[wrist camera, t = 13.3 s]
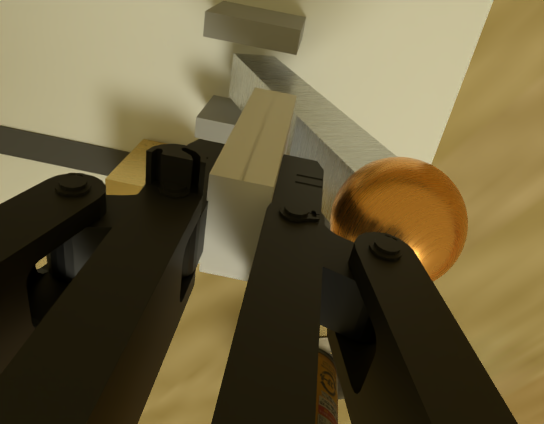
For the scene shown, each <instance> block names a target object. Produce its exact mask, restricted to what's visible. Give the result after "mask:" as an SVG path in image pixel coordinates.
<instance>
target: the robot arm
mask: <svg viewBox="0 0 544 424" xmlns="http://www.w3.org/2000/svg"><path fill="white" fill-rule="evenodd" d="M296 97H297V95H292V94H287V93H282V92H277V91H272V90H267V89H262V88H256V87H255V88H254V90H253V92H252V94H251V96H250V98H249V100H248V102H247V104H246V105H245V107H244V109H243V111H242V113H241V115H240V117H239V119H238V121H237V122H236V124H235V126H234V128H233V130H232V132H231V134H230V136H229V138H228V139H227V141H226V143H225V144H224V143H219V142H214V141H209V140H204V139H198V140H196V141H194V142H192V143H189V144H188V145H187V146H186V145H181V144H161V145H157V146H153V147H151V148H150V149H148V150H147V151H146V178H145V185H144V187H143V188H142V189H141V190H140V192H139V193H138V194H136V195H106V185H105V184H104V182H103V181H102V180H100V179H99V178H97V177H95V176H91V175H87V174H84V173H68V174H62V175H57V176H54V177H51V178H49V179H47V180H45V181H43V182H41V183H39V184H37V185H35V186H33V187H31V188H30V189H28V190H26V191H24V192H22V193H20V194H18V195H16V196H14V197H12V198H11V199H9V200H7V201H5V202H3V203H1V204H0V424H138V421H139V419H140V416H141V414H142V412H143V409H144V407H145V404H146V402H147V399H148V397H149V394H150V392H151V389H152V387H153V385H154V382H155V380H156V377H157V375H158V372H159V370H160V367H161V365H162V363H163V360H164V358H165V355H166V353H167V350H168V348H169V345H170V343H171V340H172V338H173V336H174V333H175V331H176V328H177V326H178V323H179V321H180V318H181V316H182V313H183V311H184V309H185V306H186V304H187V301H188V299H189V296H190V294H191V291H192V289H193V287H194V282H195V271H196V267H197V264H198V262H199V260H200V269H199V271H200V272H205V273H210V274H215V275H220V276H225V277H229V278H234V279H239V280H244V281H248V283H247V287H246V291H245V295H244V298H243V302H242V306H241V310H240V314H239V318H238V322H237V326H236V330H235V333H234V337H233V341H232V345H231V349H230V353H229V357H228V361H227V364H226V368H225V372H224V376H223V380H222V384H221V388H220V392H219V396H218V399H217V403H216V407H215V411H214V415H213V419H212V423H211V424H315V415H316V394H317V373H318V352H319V331H320V325H322V326H324V327H326V328H327V338H328V342H329V345H330V349H331V352H332V356H333V360H334V363H335V367H336V370H337V374H338V377H339V381H340V385H341V388H342V392H343V395H344V399H345V402H346V406H347V410H348V413H349V417H350V420H351V424H518V423H517V422H516V420H515V418H514V417H513V415H512V413H511V412H510V410H509V408H508V407H507V405H506V403H505V402H504V400H503V398H502V397H501V395H500V393H499V392H498V390H497V388H496V387H495V385H494V383H493V382H492V380H491V378H490V377H489V375H488V373H487V372H486V370H485V368H484V367H483V365H482V363H481V362H480V360H479V358H478V356H477V355H476V353H475V351H474V350H473V348H472V346H471V345H470V343H469V341H468V340H467V338H466V336H465V335H464V333H463V331H462V330H461V328H460V326H459V325H458V323H457V321H456V320H455V318H454V316H453V315H452V313H451V311H450V310H449V308H448V306H447V305H446V303H445V301H444V300H443V298H442V296H441V295H440V293H439V291H438V290H437V288H436V286H435V285H434V283H433V281H432V280H431V278H430V276H429V275H428V273H427V271H426V270H425V268H424V266H423V265H422V263H421V261H420V260H419V258H418V256H417V255H416V253H415V252H414V250H413V249H412V248H411V247H410V246H409V245H408V244H407V243H405V242H404V241H402V240H401V239H399V238H398V237H395V236H392V235H390V234H387V233H380V232H366V233H363V234H361V235H359V236H358V237H357V238H356V240H355V242H352V241H350V240H347V239H345V238H343V237H341V236H339V235H336V234H335V233H334V232H332V231H331V230H329V229H328V228H327V227H326V226H325V219H324V216H323V213H322V212H321V209H322V193H323V177H324V170H323V168H322V167H321V166H320V164H319V163H318V161H315V160H310V159H305V158H300V157H295V156H290V155H285V154H286V149H287V144H288V138H289V133H290V128H291V123H292V118H293V113H294V107H295V102H296ZM45 256H47V264H46V265H44V266H43V267H42V268H40V269H36V267H35V264H36V263H37V262H38V261H39V260H40V259H42V258H43V257H45ZM200 257H201V259H200Z"/></svg>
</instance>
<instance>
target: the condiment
mask: <svg viewBox="0 0 544 424" xmlns="http://www.w3.org/2000/svg"><path fill="white" fill-rule="evenodd" d="M330 352H331V349H330V345H329V342H328V338H319V352H318V373H317V394H316V415H315V424H338V399H344V395H343V392H342V388H341V385H340V381H339V377H338V374H337V370H336V367H335V363H334V360H333V356H332V354H330Z"/></svg>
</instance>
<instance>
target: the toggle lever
mask: <svg viewBox="0 0 544 424" xmlns="http://www.w3.org/2000/svg"><path fill="white" fill-rule="evenodd" d="M255 87H256V88H262V89H267V90H272V91H277V92H282V93H287V94H292V95H297V97H296V102H295V107H294V113H293V118H292V123H291V128H290V133H289V138H288V144H287V149H286V154H285V155H290V156H295V157H300V158H305V159H310V160H315V161H318V163H319V164H320V166H321V167H322V168H323V170H324V177H323V193H322V209H321V212H322V213H323V215H324V216H325V218H326V219H327V220H328V221H329V223H330V230H331V231H332V232H334V233H335V234H336V235H339V236H341V237H343V238H345V239H347V240H350V241H352V242H355V240H356V238H357V237H358V236H359V235H361V234H363V233H366V232H380V233H387V234H390V235H392V236H395V237H398V238H399V239H401V240H402V241H404V242H405V243H407V244H408V245H409V246H410V247H411V248H412V249H413V250H414V252H415V253H416V255H417V256H418V258H419V260H420V261H421V263H422V265H423V266H424V268H425V270H426V271H427V273H428V275H429V276H430V278H431V280H432V281H435V280H436V279H438V278H439V277H441V276H442V275H443V274H445V273H446V272H447V271H448V270H449V269H450V268H451V267H452V266H453V264H454V263H455V262H456V260H457V259H458V257H459V256H460V254H461V252H462V250H463V247H464V244H465V241H466V237H467V230H468V218H467V211H466V207H465V203H464V201H463V198H462V196H461V194H460V192H459V190H458V189H457V187H456V186H455V184H454V183H453V182H452V181H451V180H450V178H449V177H448V176H446V175H445V174H444V173H443V172H442V171H440V170H439V169H437V168H436V167H434V166H433V165H431V164H429V163H426V162H424V161H421V160H418V159H414V158H409V157H397V156H396V155H395V154H393V153H392V152H391V151H390V150H388V149H387V148H386V147H385V146H384V145H382V144H381V143H380V142H379V141H377V140H376V139H375V138H374V137H373V136H371V135H370V134H369V133H368V132H366V131H365V130H364V129H363V128H362V127H360V126H359V125H358V124H357V123H355V122H354V121H353V120H352V119H351V118H349V117H348V116H347V115H346V114H344V113H343V112H342V111H341V110H339V109H338V108H337V107H336V106H335V105H333V104H332V103H331V102H330V101H328V100H327V99H326V98H325V97H324V96H322V95H321V94H320V93H319V92H317V91H316V90H315V89H314V88H313V87H311V86H310V85H309V84H308V83H306V82H305V81H304V80H303V79H302V78H300V77H299V76H298V75H297V74H295V73H294V72H293V71H292V70H291V69H289V68H288V67H287V66H286V65H284V64H283V63H282V62H281V61H280V60H278V59H277V58H276V57H275V56H267V55H253V54H240V53H234V55H233V63H232V71H231V80H230V88H229V97H230V98H231V99H232V100H233V102H234V103H235V104H236V105H237V107H238V108H239V109H240V110H241V112H242V111H243V109H244V107H245V105H246V104H247V102H248V100H249V98H250V96H251V94H252V92H253V90H254V88H255Z"/></svg>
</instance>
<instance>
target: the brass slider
mask: <svg viewBox="0 0 544 424" xmlns="http://www.w3.org/2000/svg"><path fill="white" fill-rule="evenodd" d="M161 144H167V143H162V142H157V141H152V140H147V139H143V140H142V141H141V142H140V143H139V144H138V145H137V146H136V147H135V148H134V149H133V150H132V151H131V152H130V153H129V154H128V155H127V156H126V158H125V159H124V160H123V161H122V162H121V163H120V164H119V165H118V166H117V167H116V168H115V169H114V170H113V171H112V172H111V173H110V174H109V175H108V176H107V177H106V178H105V185H106V195H136V194H138V193H139V192H140V190H141V189H142V188H143V187H144V185H145V178H146V151H147V150H148V149H150V148H151V147H153V146H157V145H161Z"/></svg>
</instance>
